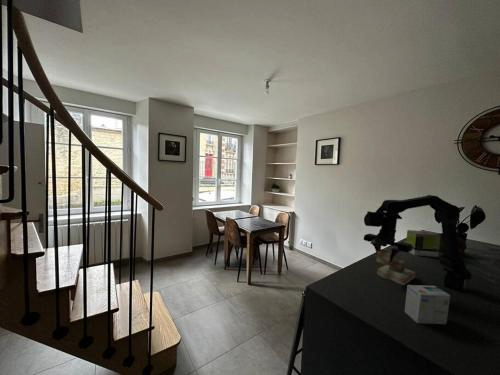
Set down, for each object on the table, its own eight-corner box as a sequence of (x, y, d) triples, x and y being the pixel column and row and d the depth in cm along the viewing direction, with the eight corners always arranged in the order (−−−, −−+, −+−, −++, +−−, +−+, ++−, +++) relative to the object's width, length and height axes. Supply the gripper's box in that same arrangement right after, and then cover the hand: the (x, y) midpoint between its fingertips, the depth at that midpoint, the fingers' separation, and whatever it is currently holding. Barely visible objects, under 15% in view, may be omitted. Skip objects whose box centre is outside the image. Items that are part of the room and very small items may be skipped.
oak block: (392, 263, 103) (393, 252, 102) (388, 265, 100) (389, 254, 99) (380, 259, 106) (382, 249, 106) (376, 261, 103) (377, 251, 103)
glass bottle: (469, 254, 151) (475, 214, 149) (458, 258, 142) (464, 216, 140) (437, 246, 166) (442, 209, 164) (426, 249, 158) (431, 210, 155)
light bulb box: (430, 312, 82) (434, 284, 82) (447, 325, 76) (451, 295, 75) (403, 311, 82) (406, 283, 81) (417, 324, 75) (421, 294, 74)
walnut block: (403, 270, 110) (405, 261, 110) (400, 273, 107) (401, 263, 107) (392, 267, 114) (393, 257, 114) (388, 269, 111) (389, 259, 111)
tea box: (427, 252, 152) (430, 231, 150) (438, 257, 142) (441, 235, 140) (404, 249, 153) (407, 229, 152) (413, 255, 143) (416, 233, 142)
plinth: (414, 277, 110) (415, 271, 110) (404, 285, 102) (405, 278, 102) (388, 268, 120) (388, 262, 120) (376, 274, 111) (377, 268, 111)
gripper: (359, 224, 104) (356, 256, 105) (405, 235, 89) (400, 272, 91) (370, 222, 111) (367, 252, 112) (414, 231, 96) (410, 266, 97)
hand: (384, 260), depth 103 cm, fingers closed on oak block, 5 cm apart
